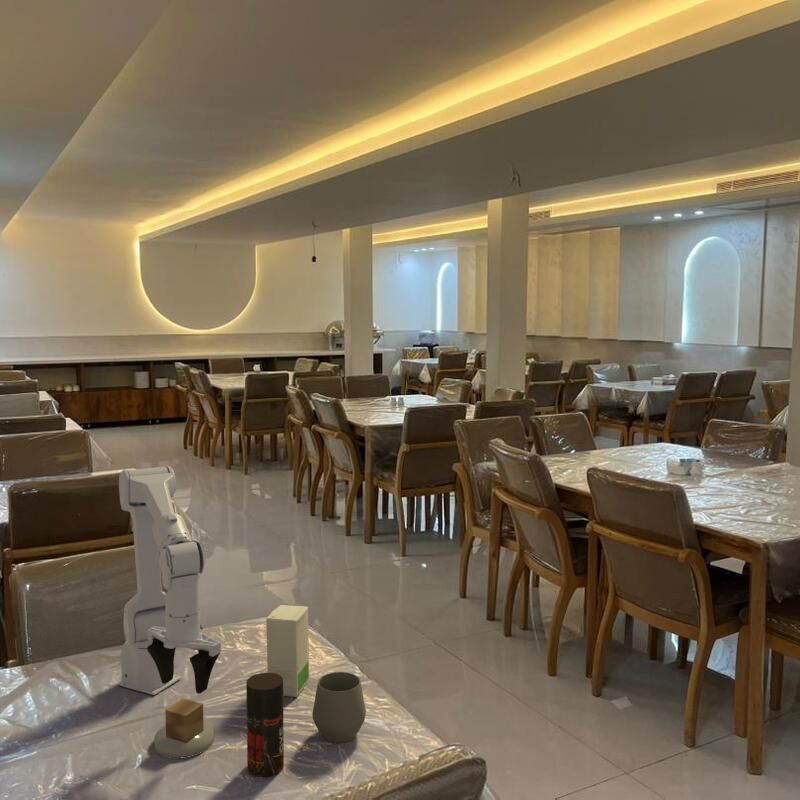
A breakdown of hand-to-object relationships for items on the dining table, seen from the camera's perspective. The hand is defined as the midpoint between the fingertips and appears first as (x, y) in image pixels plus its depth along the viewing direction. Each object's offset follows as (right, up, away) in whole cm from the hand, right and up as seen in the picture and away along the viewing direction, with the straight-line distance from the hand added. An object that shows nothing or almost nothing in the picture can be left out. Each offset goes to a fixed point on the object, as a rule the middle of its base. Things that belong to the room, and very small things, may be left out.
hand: (184, 686), depth 137 cm
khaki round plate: (0, -10, 0) cm, 10 cm away
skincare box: (+15, -8, +21) cm, 27 cm away
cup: (+27, -10, +3) cm, 29 cm away
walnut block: (0, -8, 0) cm, 8 cm away
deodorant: (+15, -11, -7) cm, 20 cm away
